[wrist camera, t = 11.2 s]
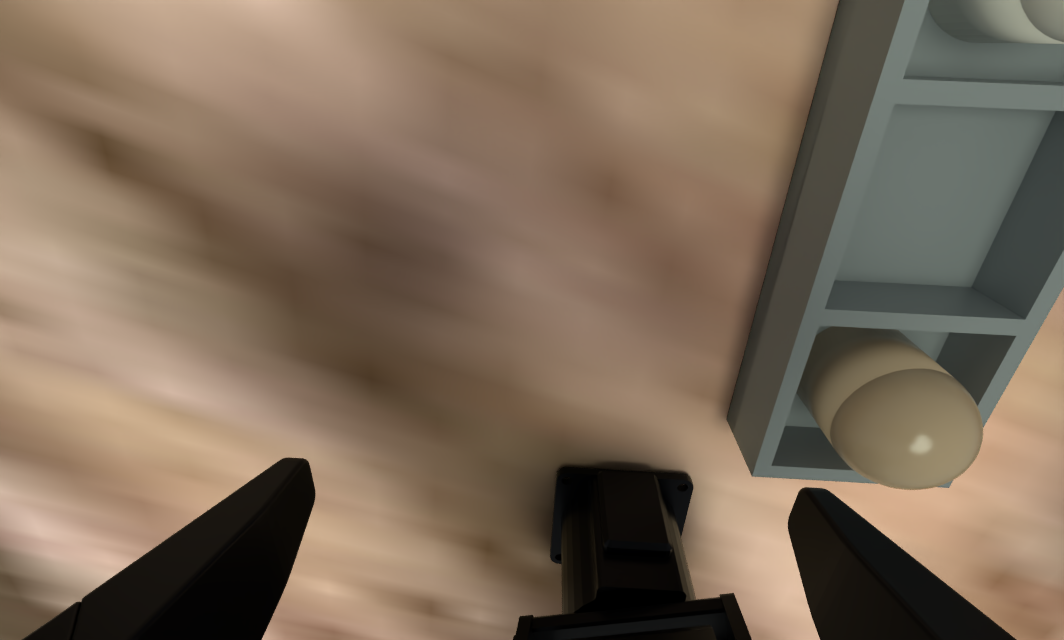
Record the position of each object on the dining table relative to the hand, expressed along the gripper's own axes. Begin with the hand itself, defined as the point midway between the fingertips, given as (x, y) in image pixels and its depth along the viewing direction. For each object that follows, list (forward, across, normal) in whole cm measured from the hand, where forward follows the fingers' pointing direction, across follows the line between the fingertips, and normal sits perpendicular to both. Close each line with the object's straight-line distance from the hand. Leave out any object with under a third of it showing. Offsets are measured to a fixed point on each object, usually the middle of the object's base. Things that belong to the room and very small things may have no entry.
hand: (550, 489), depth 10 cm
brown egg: (+11, -12, +4) cm, 17 cm away
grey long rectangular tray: (+12, -12, -3) cm, 17 cm away
